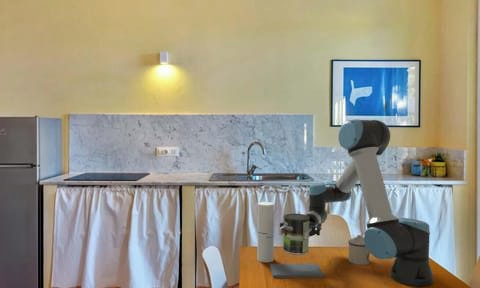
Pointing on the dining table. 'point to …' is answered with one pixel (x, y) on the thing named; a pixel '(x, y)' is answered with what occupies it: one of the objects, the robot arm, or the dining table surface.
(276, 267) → the slate board
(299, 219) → the coffee can
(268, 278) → the dining table surface
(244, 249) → the dining table surface
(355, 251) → the teacup with lid
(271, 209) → the cylindrical container
